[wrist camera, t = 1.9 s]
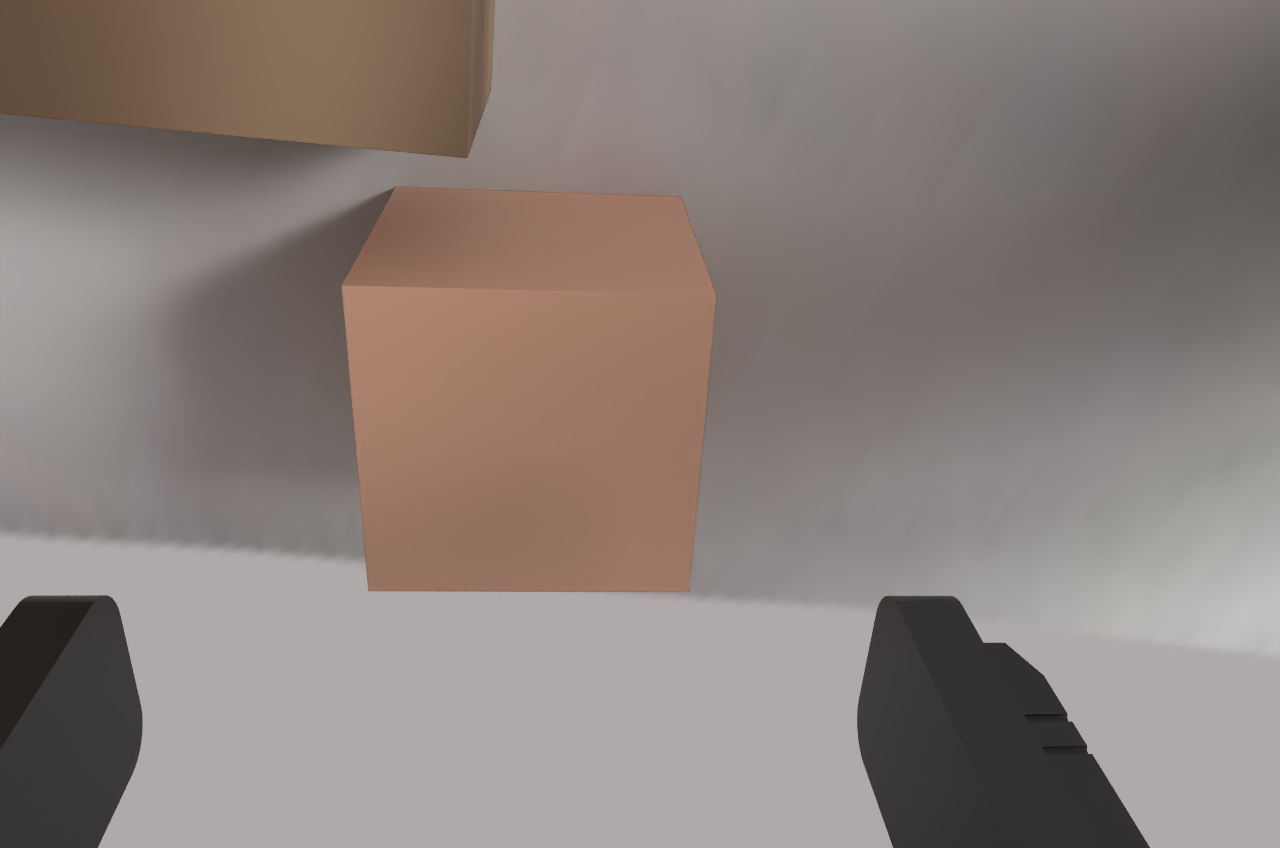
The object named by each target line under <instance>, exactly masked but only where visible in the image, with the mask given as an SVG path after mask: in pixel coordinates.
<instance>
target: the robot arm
mask: <svg viewBox="0 0 1280 848" xmlns="http://www.w3.org/2000/svg"><path fill="white" fill-rule="evenodd" d="M857 728H858V739H859V746H860V751H861V756H862V760H863V763H864V765H865V768H866V772H867V774H868V777H869V780H870V783H871V786H872V789H873V791H874V794H875V797H876V800H877V803H878V806H879V809H880V811H881V814H882V817H883V820H884V823H885V826H886V828H887V831H888V834H889V837H890V840H891V843H892V846H893V848H1150V847H1149V845H1148V844H1147V842H1146V841H1145V839H1144V837H1143V836H1142V834H1141V833H1140V831H1139V829H1138V828H1137V826H1136V825H1135V823H1134V821H1133V820H1132V818H1131V816H1130V815H1129V813H1128V811H1127V810H1126V808H1125V807H1124V805H1123V803H1122V802H1121V800H1120V799H1119V797H1118V795H1117V794H1116V792H1115V790H1114V789H1113V787H1112V786H1111V784H1110V783H1109V781H1108V779H1107V778H1106V776H1105V774H1104V773H1103V771H1102V769H1101V768H1100V766H1099V765H1098V763H1097V761H1096V760H1095V758H1094V756H1093V755H1092V754H1088V753H1087V745H1086V743H1085V742H1084V740H1083V739H1082V737H1081V735H1080V734H1079V732H1078V730H1077V729H1076V727H1075V726H1074V724H1073V722H1068V719H1067V713H1066V711H1065V709H1064V708H1063V706H1062V704H1061V703H1060V701H1059V700H1058V698H1057V696H1056V695H1055V693H1054V691H1053V690H1052V688H1051V687H1050V685H1049V683H1048V682H1047V680H1046V679H1045V677H1044V675H1042V674H1041V673H1040V672H1039V671H1038V670H1036V669H1035V668H1034V667H1033V666H1032V665H1031V664H1029V663H1028V662H1027V661H1025V659H1023V658H1022V657H1021V656H1020V655H1019V654H1017V653H1016V652H1015V651H1014V650H1013V649H1012V648H1010V647H1009V646H1008V645H1007V644H1006V643H983V642H982V640H981V638H980V636H979V634H978V633H977V631H976V629H975V627H974V625H973V624H972V622H971V620H970V618H969V617H968V615H967V613H966V611H965V610H964V608H963V606H962V604H961V603H960V601H959V600H958V599H957V598H955V597H953V596H886V597H884V598H883V599H882V600H881V602H880V603H879V606H878V609H877V613H876V618H875V622H874V628H873V632H872V637H871V642H870V647H869V653H868V657H867V662H866V667H865V673H864V677H863V682H862V687H861V692H860V697H859V703H858V714H857ZM141 738H142V710H141V705H140V700H139V695H138V691H137V687H136V682H135V678H134V673H133V669H132V665H131V661H130V656H129V651H128V647H127V643H126V638H125V634H124V630H123V625H122V621H121V616H120V613H119V609H118V607H117V604H116V603H115V601H114V600H113V599H112V598H111V597H109V596H28V597H26V598H24V599H23V600H22V601H20V602H19V604H18V605H17V606H16V608H14V610H13V611H12V613H11V614H10V615H9V617H8V618H7V619H6V621H5V622H4V623H3V625H2V626H1V627H0V848H98V846H99V844H100V842H101V840H102V837H103V835H104V833H105V831H106V829H107V826H108V825H109V823H110V820H111V818H112V816H113V814H114V812H115V810H116V808H117V805H118V803H119V801H120V799H121V797H122V795H123V793H124V791H125V789H126V786H127V784H128V782H129V780H130V778H131V776H132V773H133V771H134V769H135V766H136V763H137V759H138V755H139V751H140V746H141Z"/></svg>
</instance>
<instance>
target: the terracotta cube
mask: <svg viewBox="0 0 1280 848" xmlns="http://www.w3.org/2000/svg"><path fill="white" fill-rule="evenodd" d="M342 296H343V307H344V319H345V330H346V342H347V353H348V364H349V376H350V387H351V398H352V410H353V421H354V433H355V444H356V455H357V467H358V478H359V489H360V501H361V512H362V524H363V535H364V546H365V558H366V569H367V580H368V591H512V592H525V591H526V592H537V591H538V592H689V588H690V578H691V567H692V556H693V545H694V534H695V523H696V512H697V502H698V491H699V480H700V469H701V458H702V447H703V437H704V426H705V415H706V404H707V393H708V382H709V371H710V361H711V350H712V339H713V328H714V317H715V306H716V292H715V290H714V287H713V284H712V281H711V279H710V276H709V273H708V270H707V268H706V265H705V262H704V259H703V257H702V254H701V251H700V248H699V246H698V243H697V240H696V237H695V235H694V232H693V229H692V226H691V224H690V221H689V218H688V215H687V213H686V210H685V207H684V205H683V202H682V199H681V196H652V195H622V194H592V193H563V192H533V191H503V190H473V189H444V188H414V187H395V189H394V191H393V193H392V194H391V196H390V198H389V200H388V202H387V203H386V205H385V207H384V209H383V211H382V213H381V214H380V216H379V218H378V220H377V222H376V224H375V225H374V227H373V229H372V231H371V233H370V234H369V236H368V238H367V240H366V242H365V244H364V245H363V247H362V249H361V251H360V253H359V255H358V256H357V258H356V260H355V262H354V264H353V265H352V267H351V269H350V271H349V273H348V275H347V276H346V278H345V280H344V282H343V284H342Z"/></svg>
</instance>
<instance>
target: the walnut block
mask: <svg viewBox="0 0 1280 848" xmlns="http://www.w3.org/2000/svg"><path fill="white" fill-rule="evenodd" d="M494 6H495V0H0V113H2V114H12V115H23V116H33V117H44V118H54V119H64V120H75V121H85V122H96V123H106V124H116V125H127V126H137V127H148V128H158V129H169V130H179V131H189V132H200V133H210V134H221V135H231V136H241V137H252V138H262V139H273V140H283V141H293V142H304V143H314V144H325V145H335V146H345V147H356V148H366V149H377V150H387V151H397V152H408V153H418V154H429V155H439V156H449V157H460V158H467V157H468V154H469V152H470V149H471V146H472V143H473V140H474V137H475V134H476V131H477V129H478V126H479V123H480V120H481V117H482V114H483V111H484V109H485V106H486V103H487V100H488V97H489V94H490V91H491V75H492V52H493V29H494Z"/></svg>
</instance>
